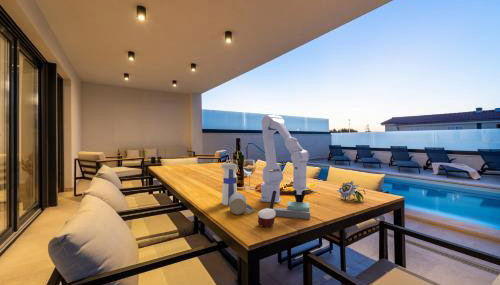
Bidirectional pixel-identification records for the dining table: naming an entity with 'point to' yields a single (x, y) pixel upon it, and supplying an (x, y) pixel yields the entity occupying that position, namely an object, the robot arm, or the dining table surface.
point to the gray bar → (292, 213)
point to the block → (298, 206)
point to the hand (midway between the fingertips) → (299, 206)
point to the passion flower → (350, 191)
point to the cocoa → (267, 214)
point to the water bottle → (229, 181)
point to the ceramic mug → (239, 204)
